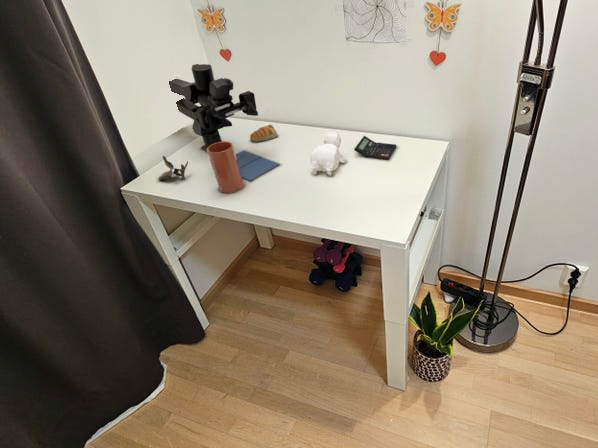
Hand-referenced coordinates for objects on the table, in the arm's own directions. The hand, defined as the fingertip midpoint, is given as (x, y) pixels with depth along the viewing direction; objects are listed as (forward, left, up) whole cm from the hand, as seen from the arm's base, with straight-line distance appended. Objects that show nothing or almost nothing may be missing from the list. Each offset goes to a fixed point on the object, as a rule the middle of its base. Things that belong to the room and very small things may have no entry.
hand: (244, 119), depth 117 cm
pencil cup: (+2, -12, -16) cm, 20 cm away
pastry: (-15, +17, -17) cm, 28 cm away
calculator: (+26, +29, -17) cm, 42 cm away
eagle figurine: (-18, -18, -17) cm, 31 cm away
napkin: (-4, -1, -16) cm, 17 cm away
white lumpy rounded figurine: (+19, +14, -17) cm, 29 cm away
